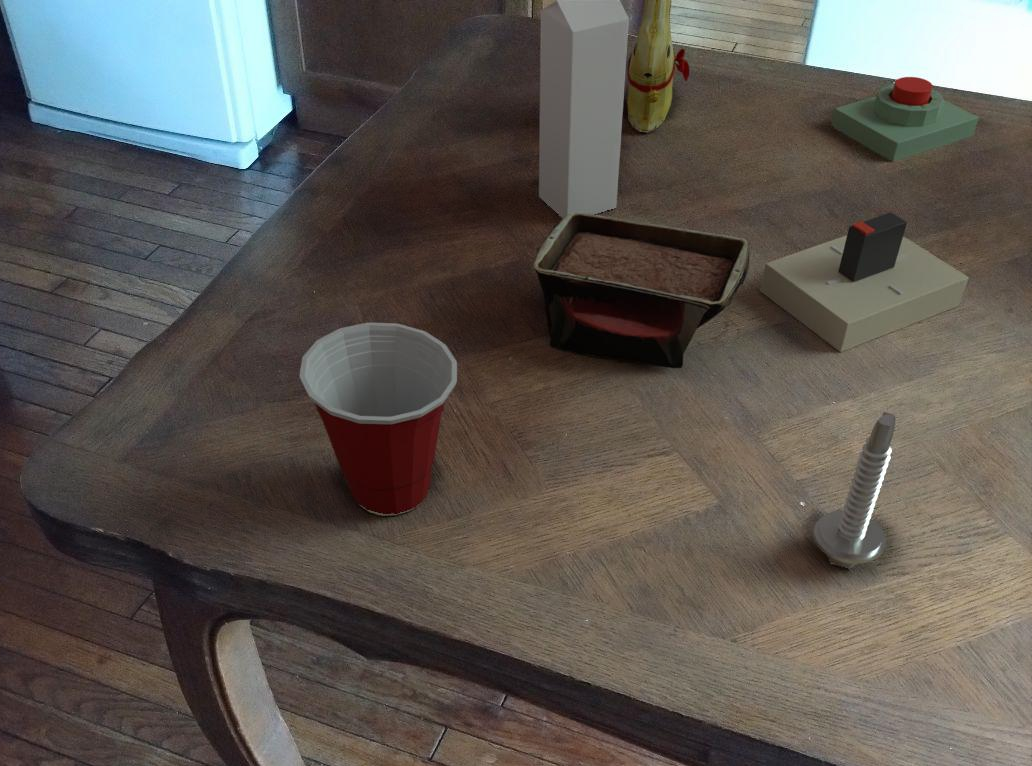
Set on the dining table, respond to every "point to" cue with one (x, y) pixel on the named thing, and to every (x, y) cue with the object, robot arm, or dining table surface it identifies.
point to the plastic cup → (381, 408)
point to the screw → (859, 505)
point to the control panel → (861, 292)
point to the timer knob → (872, 246)
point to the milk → (581, 104)
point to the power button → (911, 91)
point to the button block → (903, 124)
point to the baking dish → (634, 286)
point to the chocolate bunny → (653, 68)
